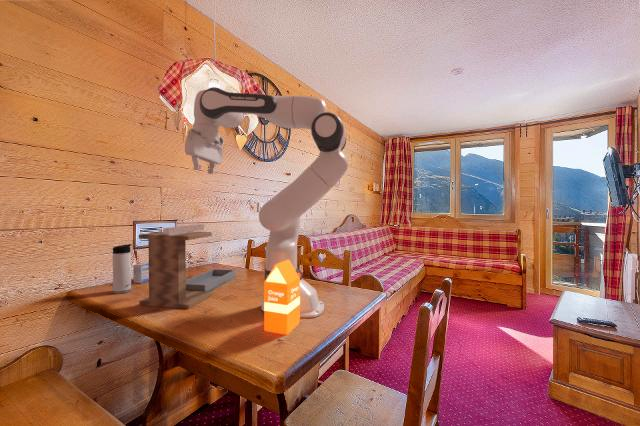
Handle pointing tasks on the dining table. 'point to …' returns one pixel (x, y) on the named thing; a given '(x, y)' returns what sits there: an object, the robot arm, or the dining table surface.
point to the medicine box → (141, 272)
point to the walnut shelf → (170, 271)
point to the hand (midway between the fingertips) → (204, 172)
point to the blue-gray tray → (210, 280)
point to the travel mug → (121, 269)
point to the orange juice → (282, 299)
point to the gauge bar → (182, 229)
